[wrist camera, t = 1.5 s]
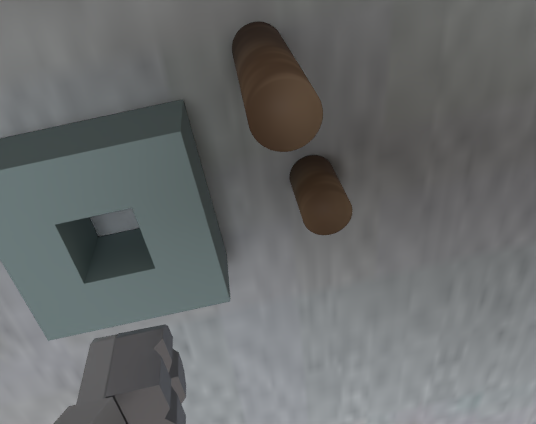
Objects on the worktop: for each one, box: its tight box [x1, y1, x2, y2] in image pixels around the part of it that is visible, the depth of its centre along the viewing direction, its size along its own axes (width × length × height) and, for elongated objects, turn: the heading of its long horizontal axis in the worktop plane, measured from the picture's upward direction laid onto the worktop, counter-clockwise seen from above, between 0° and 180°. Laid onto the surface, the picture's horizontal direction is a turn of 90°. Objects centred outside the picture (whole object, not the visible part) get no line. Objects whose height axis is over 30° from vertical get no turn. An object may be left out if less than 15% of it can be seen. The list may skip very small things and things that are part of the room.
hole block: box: [0, 100, 230, 341], centre depth 31 cm, size 12×12×5 cm
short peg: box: [290, 155, 352, 235], centre depth 32 cm, size 3×3×5 cm
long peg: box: [232, 22, 323, 152], centre depth 25 cm, size 3×3×11 cm
